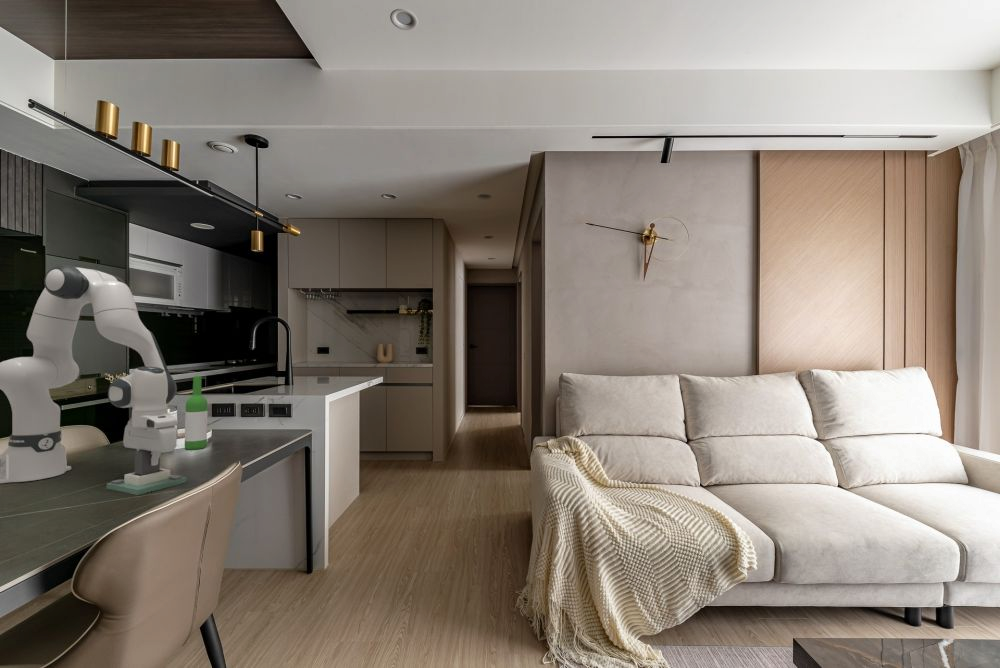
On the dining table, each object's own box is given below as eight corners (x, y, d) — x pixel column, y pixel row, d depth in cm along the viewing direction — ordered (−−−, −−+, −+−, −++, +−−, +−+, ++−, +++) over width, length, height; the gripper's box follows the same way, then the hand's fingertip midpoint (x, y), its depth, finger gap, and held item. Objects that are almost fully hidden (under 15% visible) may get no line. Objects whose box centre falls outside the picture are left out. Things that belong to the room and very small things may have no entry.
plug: (134, 477, 142) (135, 444, 143) (154, 472, 148) (155, 441, 148) (141, 479, 141) (142, 445, 141) (161, 474, 146) (162, 442, 147)
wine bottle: (190, 451, 190) (192, 377, 190) (180, 448, 194) (182, 376, 194) (210, 447, 196) (212, 376, 197) (200, 445, 200) (202, 375, 201)
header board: (106, 488, 141) (106, 475, 141) (156, 476, 153) (156, 464, 154) (137, 495, 135) (138, 481, 135) (186, 482, 148) (186, 469, 148)
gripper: (117, 418, 146) (116, 463, 145) (159, 423, 138) (158, 470, 138) (139, 415, 152) (138, 458, 151) (181, 420, 144) (180, 465, 143)
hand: (148, 464), depth 144 cm, fingers closed on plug, 3 cm apart
